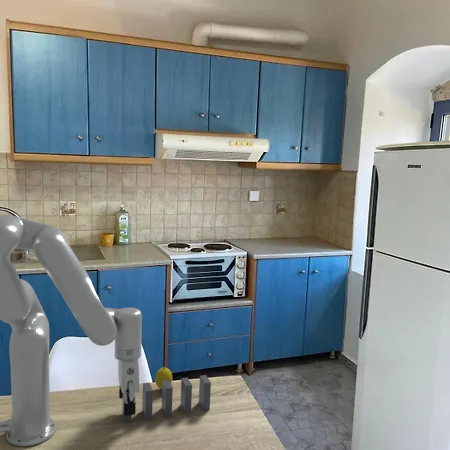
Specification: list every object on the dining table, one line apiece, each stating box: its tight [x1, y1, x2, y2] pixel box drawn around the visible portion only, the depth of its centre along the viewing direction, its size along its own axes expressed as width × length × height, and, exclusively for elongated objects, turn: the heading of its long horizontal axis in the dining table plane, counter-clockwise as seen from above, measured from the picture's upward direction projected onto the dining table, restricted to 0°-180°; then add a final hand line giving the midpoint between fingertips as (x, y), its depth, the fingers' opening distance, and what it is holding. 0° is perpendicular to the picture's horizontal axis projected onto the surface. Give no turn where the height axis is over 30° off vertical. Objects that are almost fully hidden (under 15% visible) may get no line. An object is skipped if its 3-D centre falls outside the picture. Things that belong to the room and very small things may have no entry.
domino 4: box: [180, 377, 193, 415], centre depth 140 cm, size 2×5×9 cm, turn 20°
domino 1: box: [121, 390, 133, 424], centre depth 134 cm, size 2×5×9 cm, turn 20°
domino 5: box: [198, 374, 212, 412], centre depth 142 cm, size 2×5×9 cm, turn 21°
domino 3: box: [161, 380, 174, 418], centre depth 138 cm, size 2×5×9 cm, turn 20°
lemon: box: [155, 366, 173, 390], centre depth 151 cm, size 6×6×8 cm
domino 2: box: [141, 382, 154, 421], centre depth 136 cm, size 2×5×9 cm, turn 20°
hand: (127, 405), depth 134 cm, fingers open, 9 cm apart
